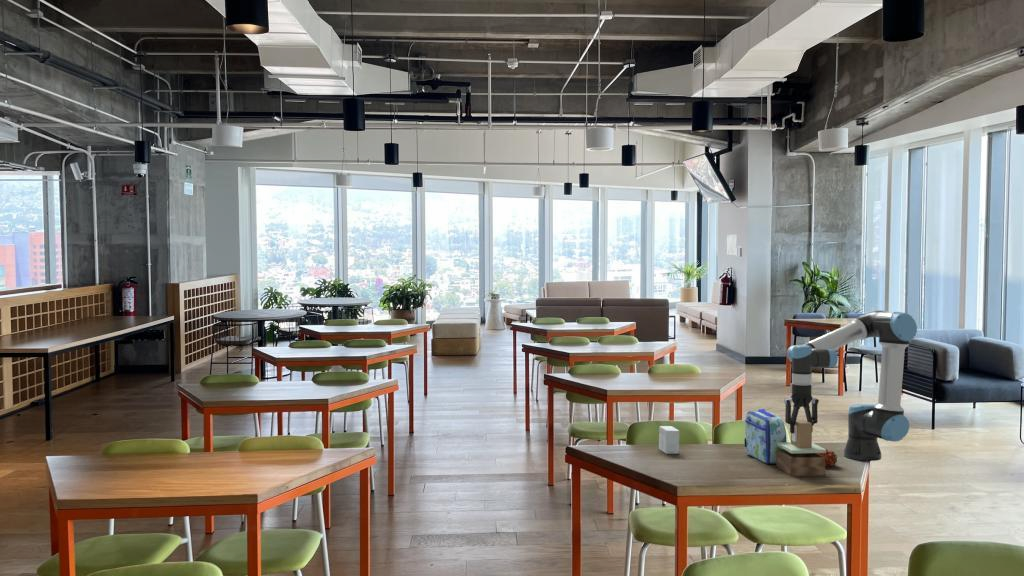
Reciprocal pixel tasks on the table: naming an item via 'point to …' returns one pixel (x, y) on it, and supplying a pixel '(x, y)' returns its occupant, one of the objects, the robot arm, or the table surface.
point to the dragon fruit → (829, 458)
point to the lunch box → (764, 435)
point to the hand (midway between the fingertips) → (801, 440)
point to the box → (800, 463)
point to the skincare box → (669, 439)
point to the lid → (802, 440)
